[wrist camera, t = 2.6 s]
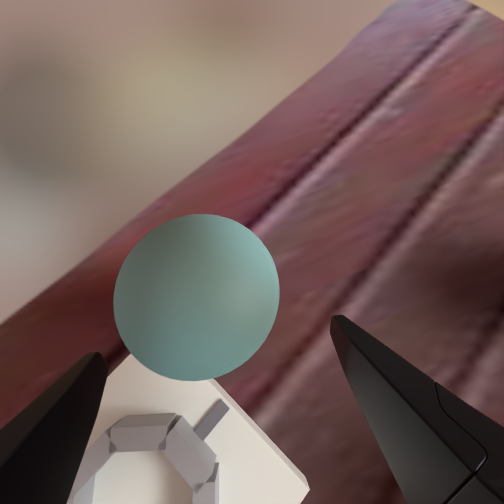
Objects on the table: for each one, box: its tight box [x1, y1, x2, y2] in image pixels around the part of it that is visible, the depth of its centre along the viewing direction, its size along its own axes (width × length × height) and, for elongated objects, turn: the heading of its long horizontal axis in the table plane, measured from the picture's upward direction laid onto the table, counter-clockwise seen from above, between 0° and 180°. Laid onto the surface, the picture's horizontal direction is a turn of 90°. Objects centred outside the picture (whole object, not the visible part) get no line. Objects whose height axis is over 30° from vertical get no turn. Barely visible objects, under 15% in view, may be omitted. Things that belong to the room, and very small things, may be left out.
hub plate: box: [67, 354, 310, 504], centre depth 14 cm, size 14×14×3 cm
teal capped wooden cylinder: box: [113, 214, 279, 381], centre depth 12 cm, size 4×4×12 cm
